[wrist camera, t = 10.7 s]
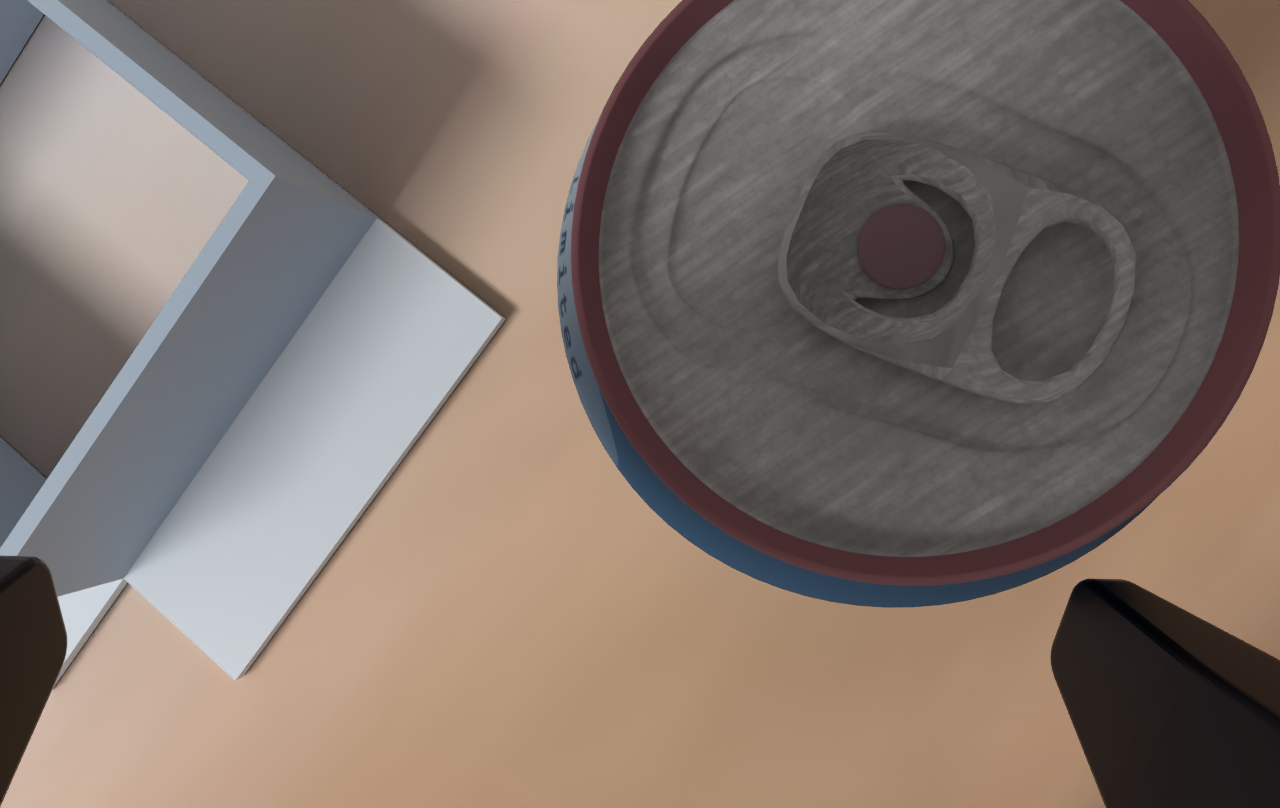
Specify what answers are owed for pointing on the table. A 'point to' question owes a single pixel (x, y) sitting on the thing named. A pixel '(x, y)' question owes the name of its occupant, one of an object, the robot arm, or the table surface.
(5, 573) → the robot arm
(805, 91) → the soda can
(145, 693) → the table surface
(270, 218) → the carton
